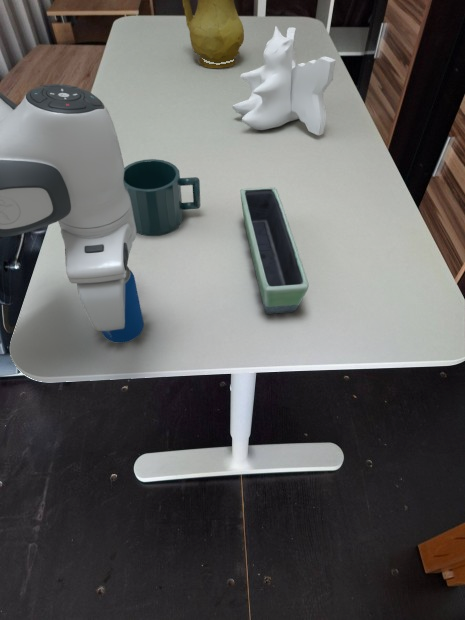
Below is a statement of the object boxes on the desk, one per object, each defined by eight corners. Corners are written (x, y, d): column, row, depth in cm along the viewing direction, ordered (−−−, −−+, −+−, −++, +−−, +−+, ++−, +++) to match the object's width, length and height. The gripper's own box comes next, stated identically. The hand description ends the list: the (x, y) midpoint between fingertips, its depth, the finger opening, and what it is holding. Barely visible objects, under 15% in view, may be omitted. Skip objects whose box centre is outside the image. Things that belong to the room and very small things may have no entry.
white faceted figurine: (222, 107, 125) (222, 19, 109) (292, 98, 130) (302, 13, 114) (253, 150, 109) (258, 55, 93) (331, 138, 114) (348, 46, 98)
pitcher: (214, 74, 139) (212, -25, 122) (178, 61, 149) (172, -33, 132) (254, 64, 147) (257, -31, 130) (218, 51, 157) (216, -38, 140)
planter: (238, 218, 91) (239, 188, 85) (273, 216, 91) (276, 186, 86) (260, 321, 72) (263, 290, 67) (304, 317, 73) (310, 286, 68)
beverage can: (94, 336, 70) (75, 280, 61) (119, 309, 73) (105, 253, 65) (128, 352, 68) (113, 297, 59) (152, 323, 72) (142, 268, 63)
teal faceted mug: (127, 238, 86) (118, 193, 78) (128, 204, 93) (120, 160, 86) (203, 232, 87) (202, 187, 80) (198, 199, 95) (196, 156, 87)
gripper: (79, 181, 62) (101, 256, 72) (64, 284, 48) (93, 358, 59) (125, 178, 63) (140, 253, 73) (123, 278, 49) (141, 353, 59)
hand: (119, 301), depth 66 cm, fingers open, 8 cm apart
